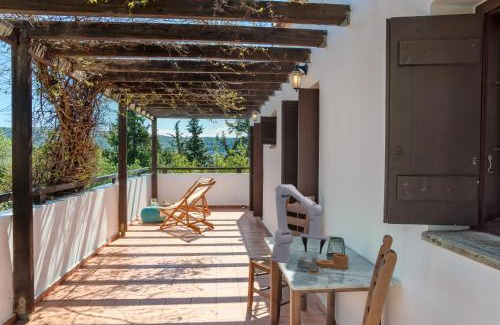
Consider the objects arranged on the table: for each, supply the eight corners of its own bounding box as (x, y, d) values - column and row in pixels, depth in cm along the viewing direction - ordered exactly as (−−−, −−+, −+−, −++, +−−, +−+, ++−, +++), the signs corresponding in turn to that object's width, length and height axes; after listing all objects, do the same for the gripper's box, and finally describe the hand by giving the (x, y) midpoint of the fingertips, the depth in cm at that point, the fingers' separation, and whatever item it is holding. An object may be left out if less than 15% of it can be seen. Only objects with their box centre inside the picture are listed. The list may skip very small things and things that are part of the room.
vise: (296, 269, 214) (296, 260, 214) (299, 264, 224) (300, 255, 224) (315, 271, 211) (315, 263, 211) (317, 266, 222) (318, 258, 221)
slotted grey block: (309, 270, 212) (310, 256, 212) (319, 271, 211) (319, 257, 210) (308, 271, 209) (309, 257, 209) (318, 273, 208) (319, 259, 207)
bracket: (346, 266, 226) (347, 254, 226) (348, 270, 218) (349, 258, 218) (314, 263, 228) (315, 251, 227) (315, 267, 219) (316, 255, 219)
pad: (307, 273, 208) (307, 272, 208) (308, 270, 214) (308, 269, 214) (318, 274, 206) (318, 274, 206) (320, 271, 212) (320, 270, 212)
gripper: (299, 227, 210) (298, 252, 211) (327, 230, 206) (325, 256, 206) (302, 224, 217) (300, 249, 217) (329, 228, 213) (327, 253, 213)
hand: (312, 252), depth 212 cm, fingers open, 7 cm apart
